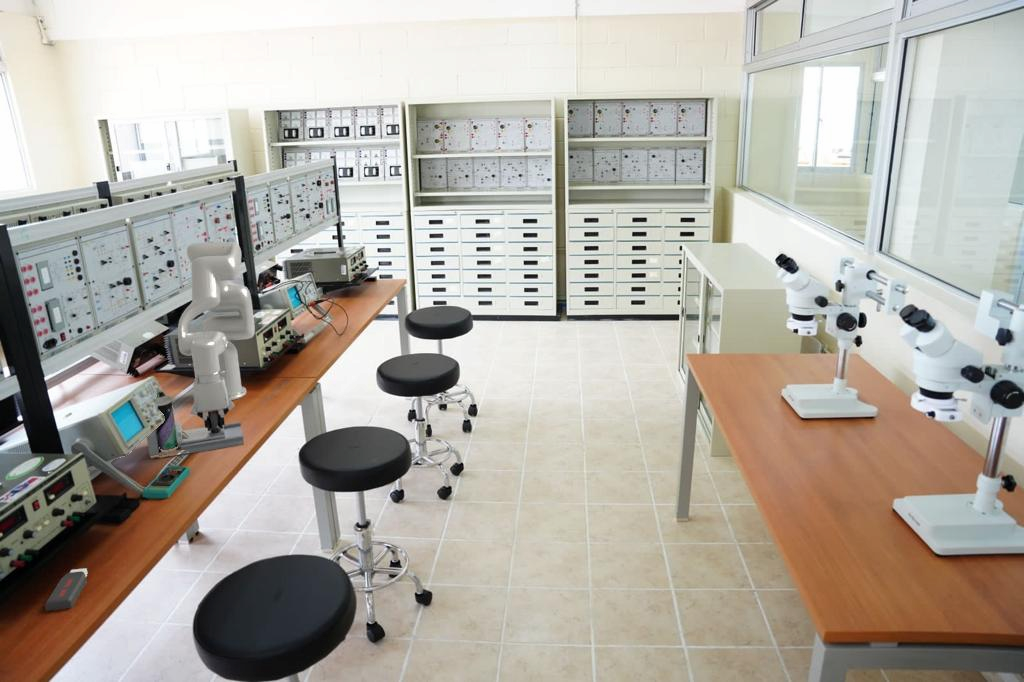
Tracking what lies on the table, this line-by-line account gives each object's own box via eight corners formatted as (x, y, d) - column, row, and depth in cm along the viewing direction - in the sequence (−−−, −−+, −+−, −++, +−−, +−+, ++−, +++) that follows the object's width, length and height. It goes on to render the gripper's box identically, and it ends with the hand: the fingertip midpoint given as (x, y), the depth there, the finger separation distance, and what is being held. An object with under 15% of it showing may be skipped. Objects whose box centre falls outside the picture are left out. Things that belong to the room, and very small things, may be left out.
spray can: (158, 453, 218) (148, 396, 211) (161, 445, 222) (152, 389, 216) (177, 451, 219) (168, 394, 212) (180, 443, 224) (171, 387, 217)
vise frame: (151, 443, 224) (147, 421, 221) (241, 428, 235) (238, 407, 232) (150, 460, 213) (146, 437, 211) (244, 444, 224) (241, 422, 222)
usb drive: (46, 612, 151) (43, 602, 150) (68, 577, 162) (66, 567, 161) (72, 609, 152) (69, 599, 151) (92, 574, 163) (90, 565, 162)
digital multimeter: (192, 473, 207) (190, 464, 206) (168, 500, 193) (166, 491, 192) (167, 472, 208) (166, 464, 207) (142, 499, 194) (140, 490, 193)
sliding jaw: (178, 437, 225) (174, 412, 222) (223, 429, 230) (220, 405, 227) (178, 448, 218) (174, 422, 215) (225, 440, 223) (222, 415, 220)
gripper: (234, 369, 225) (241, 419, 231) (179, 376, 219) (187, 427, 225) (236, 377, 219) (242, 428, 225) (179, 384, 212) (188, 437, 218)
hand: (215, 427), depth 225 cm, fingers closed on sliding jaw, 3 cm apart
